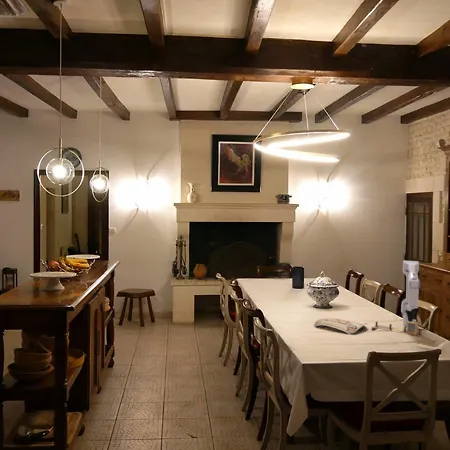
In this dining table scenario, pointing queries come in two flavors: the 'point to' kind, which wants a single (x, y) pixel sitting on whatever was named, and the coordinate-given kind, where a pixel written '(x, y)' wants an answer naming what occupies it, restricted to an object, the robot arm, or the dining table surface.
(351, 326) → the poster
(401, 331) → the peg board
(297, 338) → the dining table surface
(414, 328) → the light brown rectangular slab
